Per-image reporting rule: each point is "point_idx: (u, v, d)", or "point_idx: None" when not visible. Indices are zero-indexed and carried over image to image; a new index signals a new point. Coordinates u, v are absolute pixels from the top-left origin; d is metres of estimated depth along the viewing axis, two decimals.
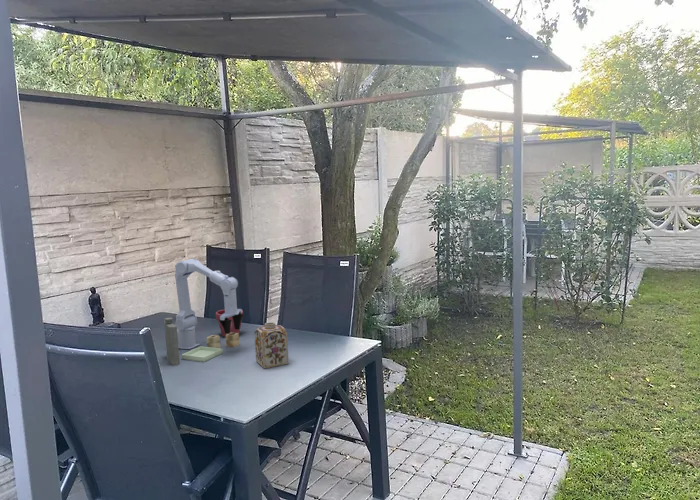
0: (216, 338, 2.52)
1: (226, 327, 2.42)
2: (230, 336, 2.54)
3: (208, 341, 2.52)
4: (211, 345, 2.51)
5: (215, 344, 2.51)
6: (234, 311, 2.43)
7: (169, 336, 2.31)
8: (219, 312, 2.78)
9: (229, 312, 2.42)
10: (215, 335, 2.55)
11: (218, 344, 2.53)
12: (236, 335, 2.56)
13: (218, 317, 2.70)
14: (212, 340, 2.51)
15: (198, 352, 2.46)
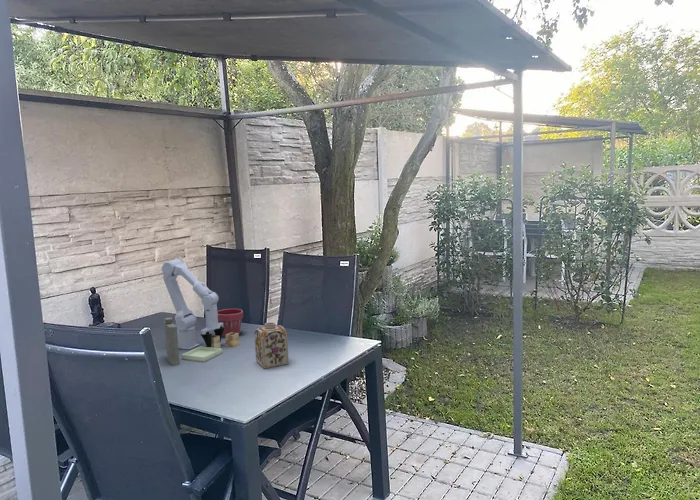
0: (216, 338, 2.52)
1: (207, 341, 2.49)
2: (230, 336, 2.54)
3: None
4: (211, 345, 2.51)
5: (215, 344, 2.51)
6: (215, 325, 2.50)
7: (169, 336, 2.31)
8: (219, 312, 2.78)
9: (210, 326, 2.49)
10: (215, 335, 2.55)
11: (218, 344, 2.53)
12: (236, 335, 2.56)
13: (218, 317, 2.70)
14: (212, 340, 2.51)
15: (198, 352, 2.46)
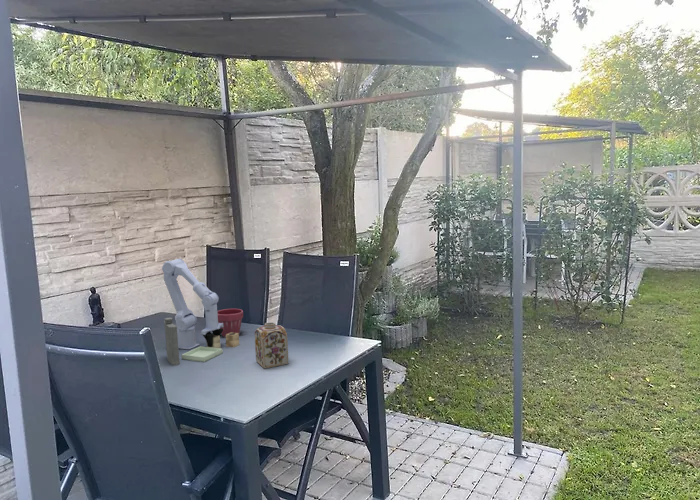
0: (216, 338, 2.52)
1: (209, 340, 2.50)
2: (230, 336, 2.54)
3: None
4: None
5: (215, 344, 2.51)
6: (215, 326, 2.50)
7: (169, 336, 2.31)
8: (219, 312, 2.78)
9: (210, 327, 2.50)
10: (215, 335, 2.55)
11: (218, 344, 2.53)
12: (236, 335, 2.56)
13: (218, 317, 2.70)
14: None
15: (198, 352, 2.46)
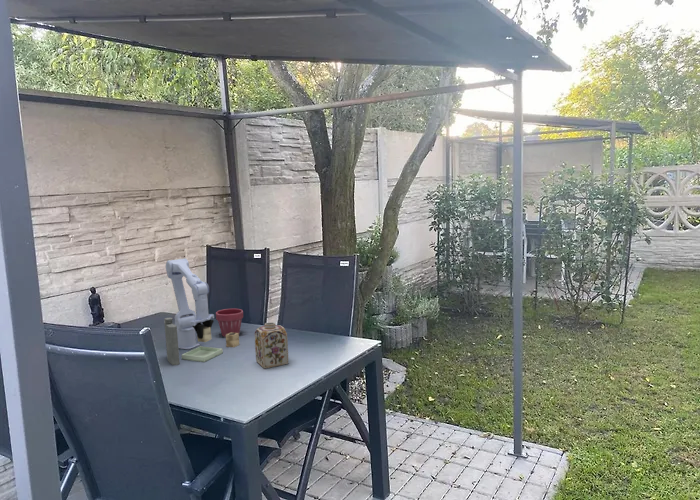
0: (207, 329, 2.42)
1: (199, 332, 2.41)
2: (230, 336, 2.54)
3: None
4: None
5: (205, 336, 2.41)
6: (205, 316, 2.41)
7: (169, 336, 2.31)
8: (219, 312, 2.78)
9: (200, 317, 2.40)
10: None
11: (209, 336, 2.44)
12: (236, 335, 2.56)
13: (218, 317, 2.70)
14: None
15: (198, 352, 2.46)
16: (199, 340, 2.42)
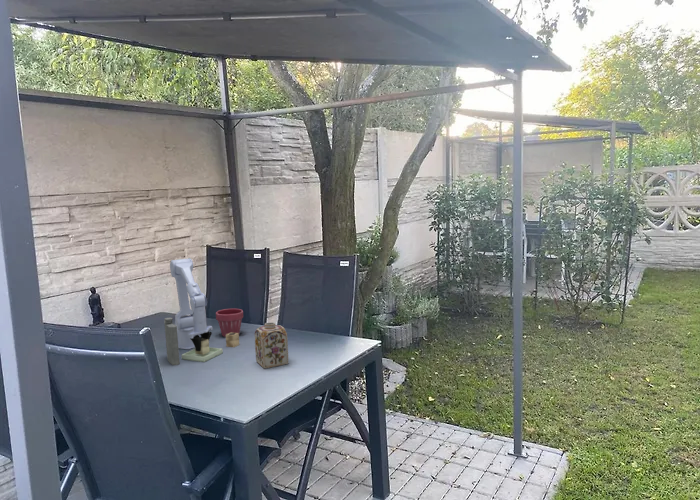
0: (205, 342, 2.40)
1: (197, 344, 2.39)
2: (230, 336, 2.54)
3: None
4: None
5: (203, 348, 2.39)
6: (203, 329, 2.39)
7: (169, 336, 2.31)
8: (219, 312, 2.78)
9: (198, 330, 2.38)
10: (204, 339, 2.43)
11: (207, 348, 2.42)
12: (236, 335, 2.56)
13: (218, 317, 2.70)
14: None
15: None
16: (197, 352, 2.40)
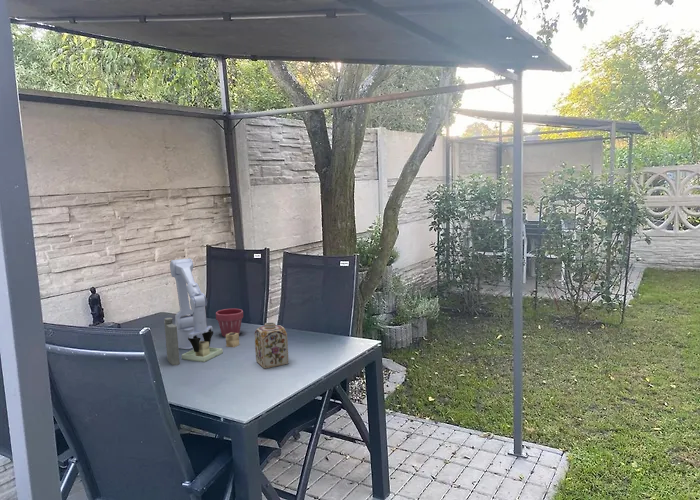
0: (205, 344, 2.40)
1: (195, 345, 2.38)
2: (230, 336, 2.54)
3: None
4: (200, 351, 2.40)
5: (203, 351, 2.39)
6: (203, 329, 2.39)
7: (169, 336, 2.31)
8: (219, 312, 2.78)
9: (198, 330, 2.38)
10: (204, 341, 2.43)
11: (207, 350, 2.42)
12: (236, 335, 2.56)
13: (218, 317, 2.70)
14: (201, 346, 2.39)
15: None
16: (197, 355, 2.41)
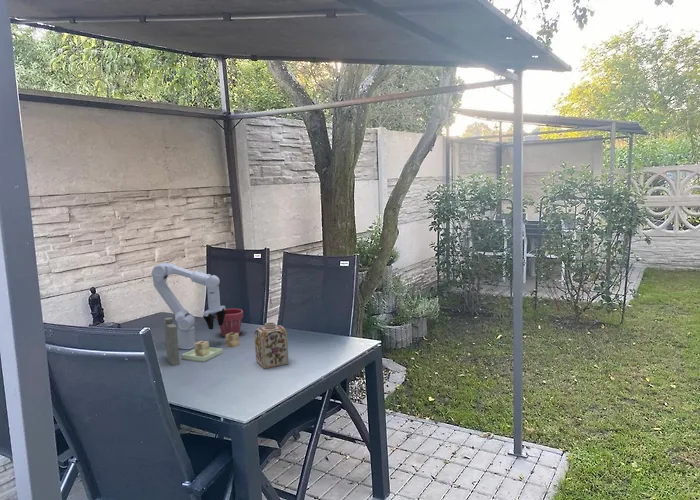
0: (205, 344, 2.40)
1: (210, 323, 2.53)
2: (230, 336, 2.54)
3: (196, 347, 2.40)
4: (200, 351, 2.40)
5: (203, 351, 2.39)
6: (217, 308, 2.54)
7: (169, 336, 2.31)
8: None
9: (212, 308, 2.53)
10: (204, 341, 2.43)
11: (207, 350, 2.42)
12: (236, 335, 2.56)
13: None
14: (201, 346, 2.39)
15: None
16: (197, 355, 2.41)
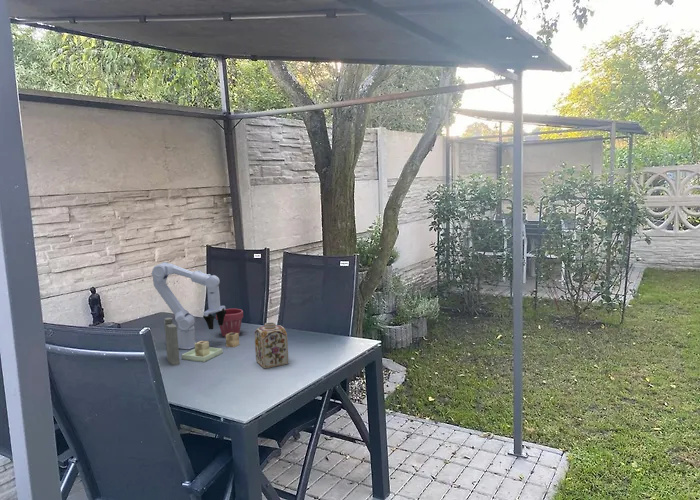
0: (205, 344, 2.40)
1: (210, 323, 2.53)
2: (230, 336, 2.54)
3: (196, 347, 2.40)
4: (200, 351, 2.40)
5: (203, 351, 2.39)
6: (217, 308, 2.54)
7: (169, 336, 2.31)
8: None
9: (212, 308, 2.53)
10: (204, 341, 2.43)
11: (207, 350, 2.42)
12: (236, 335, 2.56)
13: None
14: (201, 346, 2.39)
15: None
16: (197, 355, 2.41)
